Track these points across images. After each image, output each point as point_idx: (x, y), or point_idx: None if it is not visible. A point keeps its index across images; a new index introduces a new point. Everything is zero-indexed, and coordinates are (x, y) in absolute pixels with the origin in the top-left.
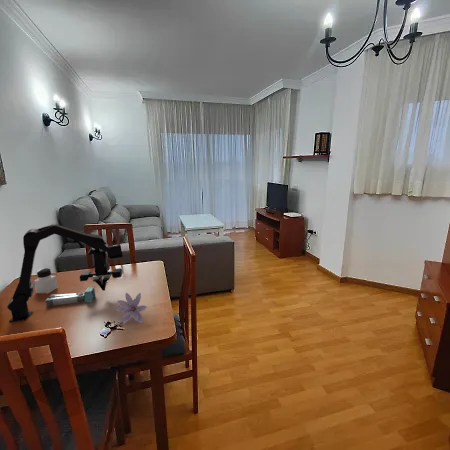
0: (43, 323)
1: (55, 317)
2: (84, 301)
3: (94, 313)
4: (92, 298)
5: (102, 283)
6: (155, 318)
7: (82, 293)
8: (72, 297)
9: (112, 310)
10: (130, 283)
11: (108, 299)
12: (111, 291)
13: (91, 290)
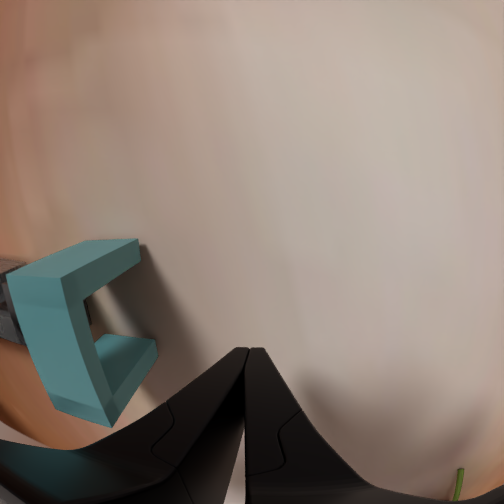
0: (52, 443)
1: (59, 427)
2: (89, 320)
3: (244, 476)
4: (145, 355)
5: (217, 452)
6: (490, 477)
7: None
8: (5, 334)
9: (353, 468)
10: (456, 15)
11: (308, 341)
12: (302, 138)
13: (95, 398)
